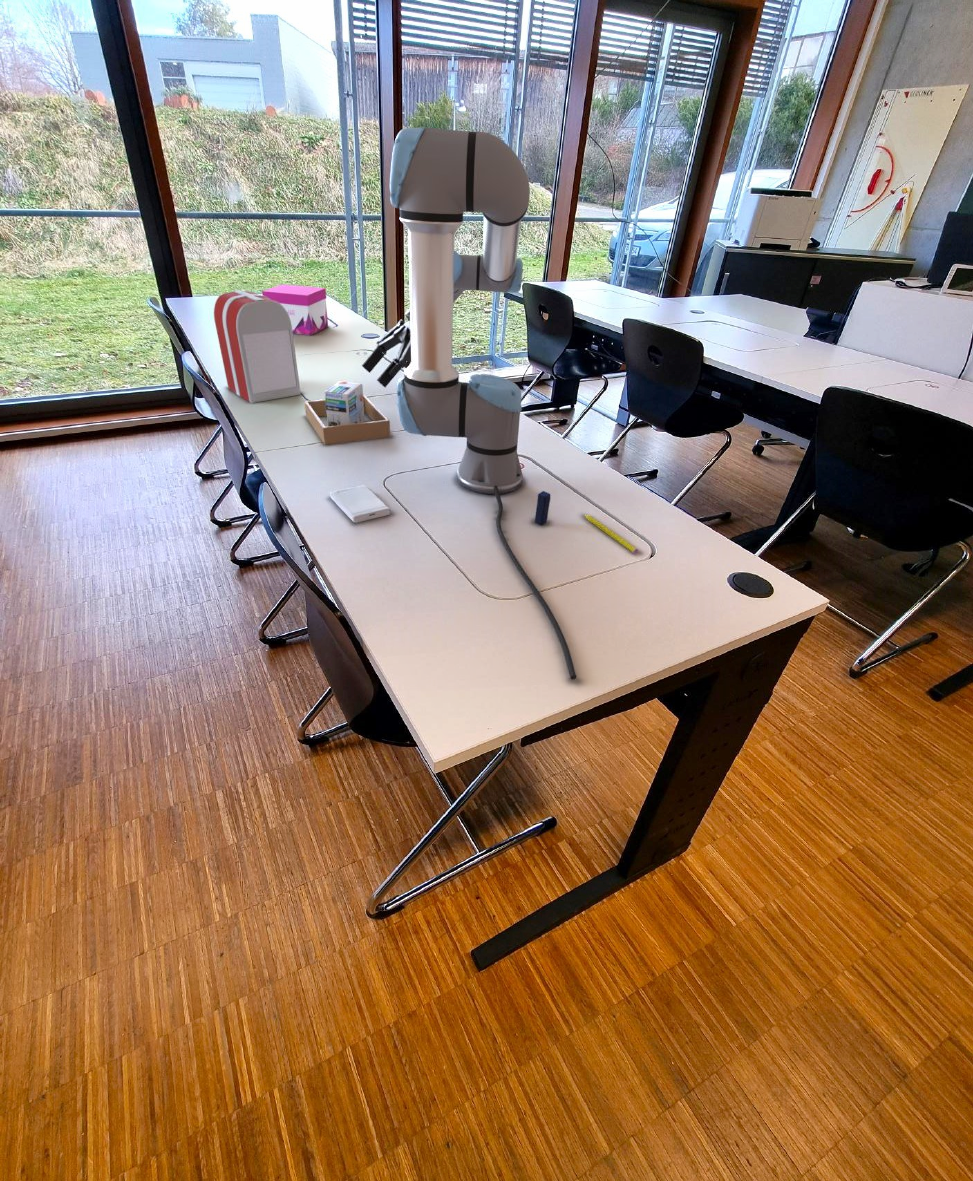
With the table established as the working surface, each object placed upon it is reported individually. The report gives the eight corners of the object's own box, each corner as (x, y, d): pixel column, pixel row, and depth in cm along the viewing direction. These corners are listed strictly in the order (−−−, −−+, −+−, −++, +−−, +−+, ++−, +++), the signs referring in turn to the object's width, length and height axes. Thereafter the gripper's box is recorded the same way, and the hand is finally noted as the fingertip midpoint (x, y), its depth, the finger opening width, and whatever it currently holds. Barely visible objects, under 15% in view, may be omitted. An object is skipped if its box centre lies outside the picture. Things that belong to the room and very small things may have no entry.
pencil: (637, 552, 115) (638, 548, 114) (633, 554, 115) (634, 549, 114) (585, 515, 126) (586, 511, 126) (581, 516, 126) (582, 512, 125)
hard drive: (329, 491, 125) (353, 516, 117) (365, 484, 129) (390, 507, 121) (330, 498, 126) (353, 523, 118) (365, 490, 130) (390, 514, 122)
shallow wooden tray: (390, 436, 156) (389, 420, 154) (324, 445, 149) (322, 428, 147) (366, 410, 172) (365, 395, 169) (306, 417, 165) (304, 401, 162)
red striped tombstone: (250, 403, 171) (231, 302, 155) (226, 387, 181) (206, 291, 166) (302, 394, 180) (289, 298, 165) (276, 379, 191) (262, 287, 175)
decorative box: (268, 331, 242) (261, 291, 234) (288, 322, 258) (283, 284, 249) (311, 335, 240) (307, 295, 232) (329, 326, 256) (325, 288, 247)
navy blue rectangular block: (539, 519, 124) (543, 489, 120) (547, 522, 123) (551, 493, 119) (533, 522, 122) (536, 493, 118) (541, 526, 121) (545, 496, 117)
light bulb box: (351, 435, 156) (347, 394, 149) (327, 431, 157) (323, 391, 150) (365, 421, 164) (363, 382, 158) (343, 418, 165) (339, 380, 159)
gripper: (452, 335, 147) (398, 400, 150) (417, 314, 165) (369, 372, 168) (433, 313, 142) (377, 380, 145) (399, 294, 159) (349, 354, 162)
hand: (372, 376), depth 156 cm, fingers open, 13 cm apart
